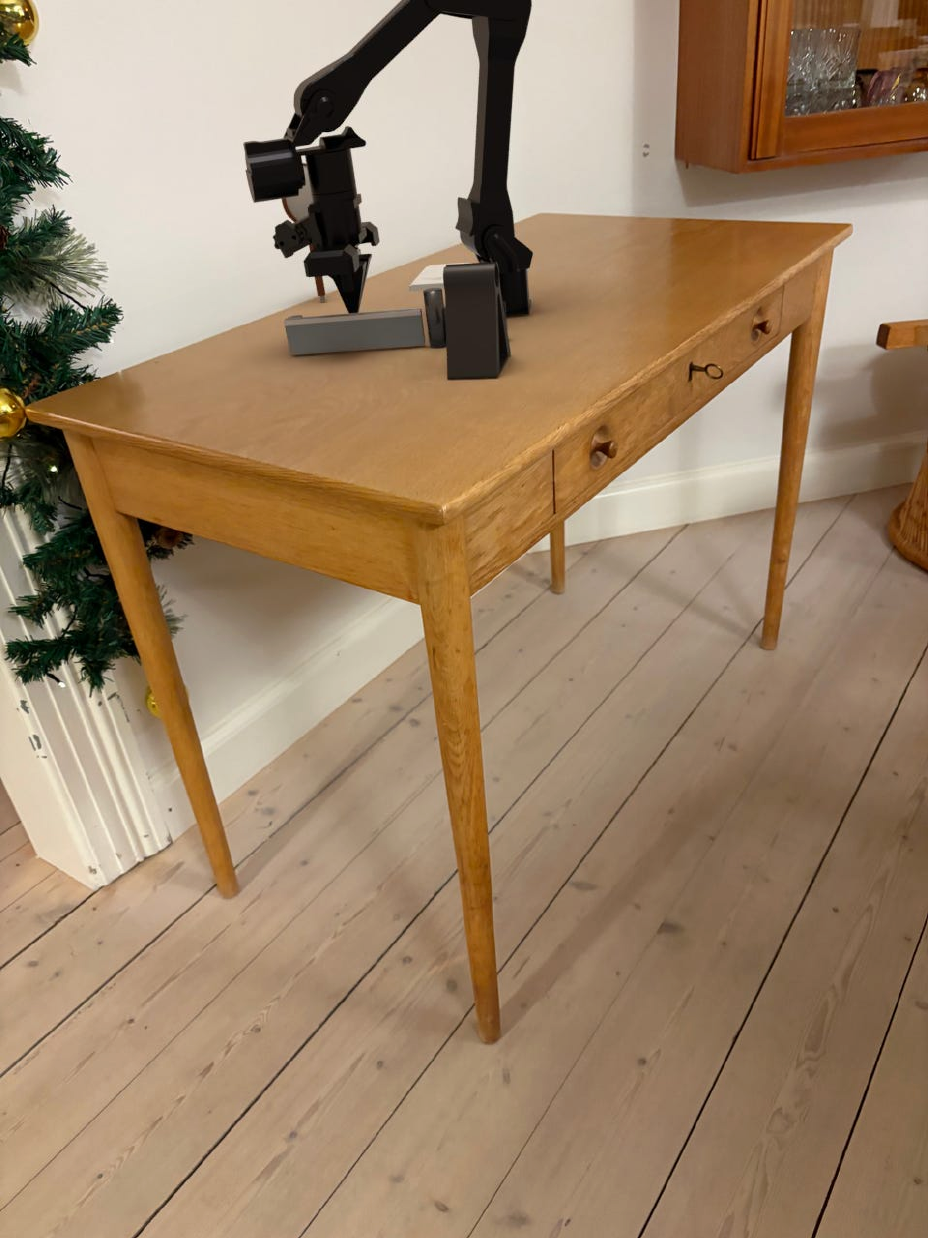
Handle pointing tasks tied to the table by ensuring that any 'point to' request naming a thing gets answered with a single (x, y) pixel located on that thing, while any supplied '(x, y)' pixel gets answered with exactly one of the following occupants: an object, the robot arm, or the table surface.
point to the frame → (434, 317)
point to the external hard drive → (429, 278)
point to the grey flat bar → (355, 331)
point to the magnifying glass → (299, 210)
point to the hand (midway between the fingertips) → (353, 314)
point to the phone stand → (474, 321)
